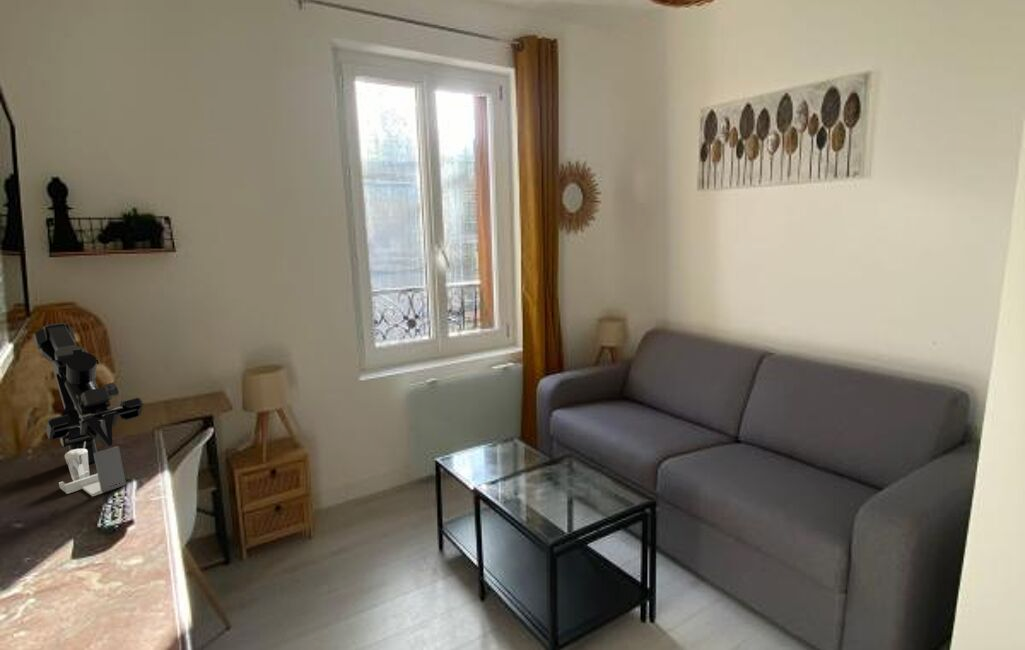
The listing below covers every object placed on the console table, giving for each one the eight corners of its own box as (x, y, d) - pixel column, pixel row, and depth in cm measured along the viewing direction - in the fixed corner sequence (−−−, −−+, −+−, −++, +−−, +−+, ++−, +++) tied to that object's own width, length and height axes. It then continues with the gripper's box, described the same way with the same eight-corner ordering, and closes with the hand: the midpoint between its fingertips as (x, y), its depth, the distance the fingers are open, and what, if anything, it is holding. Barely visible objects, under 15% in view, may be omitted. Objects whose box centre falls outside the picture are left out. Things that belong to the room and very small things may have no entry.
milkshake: (100, 477, 142) (93, 441, 140) (82, 487, 137) (75, 449, 135) (84, 478, 143) (77, 441, 141) (66, 487, 137) (58, 450, 136)
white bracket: (59, 488, 137) (51, 450, 135) (107, 472, 145) (99, 436, 143) (77, 501, 129) (68, 461, 127) (126, 484, 137) (118, 446, 135)
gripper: (39, 385, 124) (64, 441, 119) (133, 365, 138) (159, 415, 134) (36, 413, 130) (60, 467, 125) (127, 391, 145) (151, 439, 140)
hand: (110, 445), depth 131 cm, fingers closed
